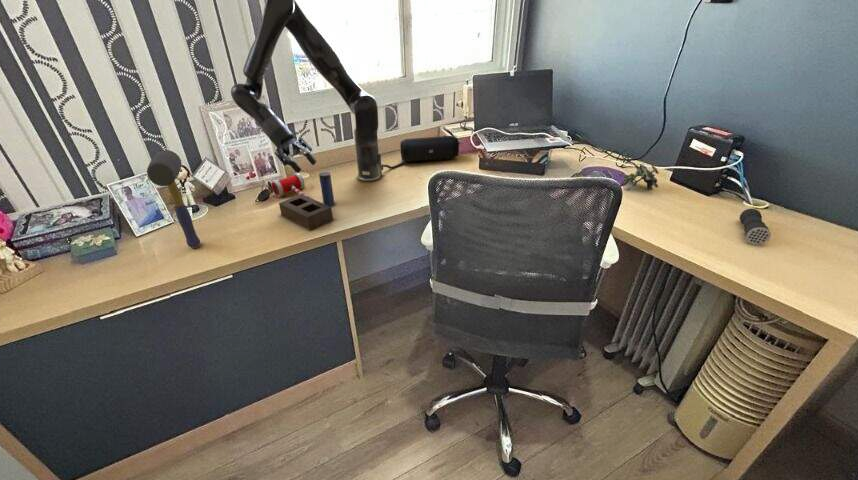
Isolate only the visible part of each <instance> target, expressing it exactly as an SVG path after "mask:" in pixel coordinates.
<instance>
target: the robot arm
mask: <svg viewBox="0 0 858 480" xmlns="http://www.w3.org/2000/svg"><path fill="white" fill-rule="evenodd" d="M263 3H264V8H263V14H262V18H261V19H262V20H261V22H260V27H259V30H258V32H257V34H256V37H255V38H254V41H253V43H252V45H251V47H250V49H249V52H248V55H247V57H246V60H245V63H244V66H243V69H242V74H243V75H244V76H245V77H246V80H245V83H234V84H233V85H232V86H231V89H230V96H231V99H232V100H233V102H234V103H235V105H236V106H237V107H239V109H241V110H242V111H243V112H244V113H245V114H246V115H248V116H249V117H251V118H252V119H253V121H254V122H255V123H257V125H258V126H259V128H261V130H262V131H263V133H264V134H265V135H266V137H267V138H268V139H269V140H270V141H271V142H272V144H273V145H274V146H275V147H276V149H275V151H274V155H275V156H276V157H277V158H278V160H279V161H280V162H281V163H282V165H283V166H290V168H292V170H293V171H294V172H295V173H299V174H300V172H302V167H301V166H300V165H299V164H298V163H297V162H296V161H295V160H294V157H295V156H297V155H298V156H303V157H305V158H306V160H307V161H308V162H309V163H310V164H311V165H312V166H314V165H315V164H316V163H317V159H316V158H315V157H314V156H313V154H312V151H313V148H312V147H311V146H310V144H309V143H307V141H306V140H305V139H304V138H303V137H300V138H299V139H298V140H296V138H295V136H294V134H293V132H291V129H289V128H288V126H287V125H286V124H285V123H284V122H283V121H282V119H280V118H279V117H278V116H277V115H276V113H275V112H274V111H273V110H272V109H271V108H270V106H268V104H266V103H264V102H261V101H260V100H261V98H262V95H263V94H262V93H263V86H264V80H265V77H266V74H267V71H268V69H269V66H270V63H271V61H272V57H273V54H274V52H275V49H276V46H277V44H278V41H279V39H280V37H281V35H282V33H283V31H284V29H285V28H286V29H287V30H288V31H289V33H290V34H291V35H292V37H293V38H294V40H295V41H296V42H297V44H298V46H299V47H300V49H301V50H302V52H303V53H304V55H305V56H306V58H307V60H308V61H309V63H311V65H312V66H313V67H314V68H315V69H316V71H317V72H318V73H319V75H320V76H322V77H323V79H324V80H325V81H326V82H327V83H328V84H329V85H330V86H331V87H333V88H334V89H335V91H336V92H337V93H338V94H339V96H341V98H342V100H343V101H344V102H345V105H347V107H348V108H349V111H351V113H352V114H353V115H354V120H355V121H354V123H355V128H354V130H353V134H354V135H353V137H354V144H355V155H356V166H357V177H358V180H360V181H363V182H374V181H377V180H379V179H380V178H381V177H382V176H383V172H382V171H384V168H388V169H392V170H393V169H397V168H398V167H400V166H402V165H404V164H407V163H409V162H407V161H402V162H401V161H400V163H398V164H396V165H393V166H391V165H389V164H383V163H382V157H381V155H382V154H381V152H379V139H378V130H379V107H378V103H377V101H376V99H375V97H374V96H373V95H371V94H369V93H368V92H366V91H364V90H363V88H362V87H360V86H359V84H357V81H355V80H354V78H353V77H352V76H351V74H350V72H349V70H348V69H347V67H346V65H345V63H344V61H343V59H342V57H341V56H340V55H339V53H338V52H337V50H336V49H335V48H334V47H333V45H332V44H331V43H330V42H329V41H328V39H327V38H326V37H325V36H324V35H323V34H322V33H321V32H320V31H319V29H317V27H316V26H315V25H314V24H313V23H312V22H311V21H310V20H309V19H308V18H307V17H306V15H305V13H304V12H303V11H302V9H301V8H300V6H299V5H298V3H297V1H296V0H264V2H263Z"/></svg>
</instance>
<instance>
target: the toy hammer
mask: <svg viewBox="0 0 858 480" xmlns="http://www.w3.org/2000/svg"><path fill="white" fill-rule="evenodd" d="M270 185H271V190H272V192H273V194H274V195H275V196H276V197H278V198H280V197H282V196H284V194H286V193H290V192H295V193H296V194H298V195H301V194H303V195H305V196H308V197H310V196H309V195H307V194H306V193H304V192H303V191H301V190H302V189H304V188H305V185H306V184H305V179H304V177H303V176H302V174H301V173H300V172H299V173H297V172H294V173H293V174H292V175H291V176H287V177H285V178H282V179H274V180H272V181H271V184H270Z"/></svg>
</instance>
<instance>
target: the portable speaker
mask: <svg viewBox="0 0 858 480" xmlns="http://www.w3.org/2000/svg"><path fill="white" fill-rule="evenodd" d="M458 141H459V139H458V137H456V136H454V135H443V136H442V135H441V136H427V137H417V138H416V137H415V138H405V139H403V140H401V141H400V143H399V144H400V158H401V161H402V162H404V161H407V162H408V163H419V162H430V161H433V162H434V161H444V160H445V161H446V160H452V159H454V158H457V157H458V156H459V153H460V143H459V142H460V141H459V142H458Z"/></svg>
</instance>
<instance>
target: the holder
mask: <svg viewBox="0 0 858 480" xmlns="http://www.w3.org/2000/svg"><path fill="white" fill-rule="evenodd" d="M308 196H309V195H307V196H305V195H303V194H301V195H300V194H298V195H296V196H293V197H290V198H288V199H285V200H283V201H280V202H278V206H279V209H280V214H281V215H280V216H281V217H284V218H285V219H287V220H289V221H291V222H293V223H294V224H297V225H299V226H301V227H302V228H304V229H306V230H308V231H312V230H315V229H317V228H319V227H321V226H323V225H326V224H328V223H330V222H332V221H334V216H333V210H332V206H331V207H330V206H328V205H325V204H324V203H323V202H321V201H319V200H317V199H314V198H312V197H311V196H309V197H308Z"/></svg>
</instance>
